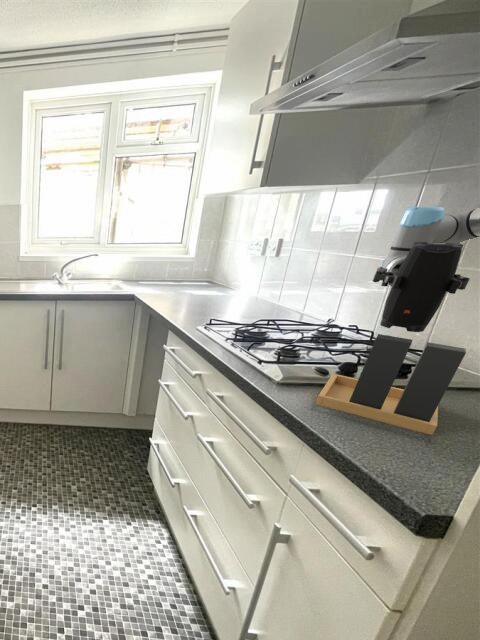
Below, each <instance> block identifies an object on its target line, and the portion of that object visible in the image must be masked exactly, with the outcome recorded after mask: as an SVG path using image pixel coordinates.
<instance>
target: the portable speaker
mask: <svg viewBox="0 0 480 640" xmlns="http://www.w3.org/2000/svg"><path fill="white" fill-rule="evenodd" d="M463 247H464V243H446V244H429V243H427V242H414V244H413V246H412V248H411V250H410V252H409V253H408V255H407V257H406V258H405V260H404V262H403V263H402V265H401V267H400V268H399V271H398V273H397V274H399V275H401V276H402V279H401V281H400V283H399V286H398V288H397V289H394V288H392V287H390V290H389V293H388V295H387V297H386V300H385V304H384V307H383V312H382V314H381V315H382V316H381V320H380V323H379V324H380V326H381V327H384V328H387V329H390V328H392V327H398V328H403V329H406V332H410V333H412V332H413V333H422V332H424V331H425V329H426V328H427V327H428V325H429V324H430V322H431V320H433V318H434V316H435V315H436V313H437V312H438V310H439V308H440V307H441V304H442V303H443V301H444V299H445V297H446V294H447V293H448V292H447V289H448V287H449V285H450V283H451V281H452V279H453V277H454V275H455V274H456V272H457V269H458V265H459V262H460V258H461V256H462V252H463Z"/></svg>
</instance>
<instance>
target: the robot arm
mask: <svg viewBox="0 0 480 640" xmlns="http://www.w3.org/2000/svg"><path fill="white" fill-rule="evenodd" d="M445 213H446V208H445V207H443V206H412V207H409V208H407V209H406V210H405V212H404V215H403V217H402V219H401V220H400V222H399V225H398V227H397V230H396V232H395V236H394V238H393V241H392V243H391V245H390V248H389V250H388V253H387V255H386V257H385V259H383V260H382V263H381V265H380V267H377V268H376V270H375V273H374V275H373V278H372V280H371V282H373V283H379V282H381V281H382V282H381V284H380V286H381V287H388V286H390V288H394V289H397V288H398V286H399V283H400V281H401V279H402V276H401V275H399V274H397V273H398V271H399V268H400V267H401V265H402V263H403V262H404V260H405V258H406V257H407V255H408V253H409V252H410V250H411V248H412V246H413V244H414V242H427V243H429V244H446V243H459V244H461V243H460V242H463V241H465V240H469V239H473V238H476V239H478V238H480V207H477V208H474V209H470V210H466V211H462V212H459V213H455V214H454V213H453V214H452V213H451V214H445ZM477 237H478V238H477ZM470 279H471V278H470V277H467V276H463V275H462V274H459V273H455V275H454V277H453V279H452V281H451V283H450V285H449V287H448V289H447V292H446V293H449V294H451V295H455V294H456V293H457V290H461V291H463V290H466V288H467V286H468V284H469V282H470Z"/></svg>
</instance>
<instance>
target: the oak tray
mask: <svg viewBox="0 0 480 640" xmlns="http://www.w3.org/2000/svg"><path fill="white" fill-rule="evenodd" d="M358 380H359V378H355V377H350V376H345V375H341V374H337V373H332V375H331V376H330V378H329V379H328V381H327V382H326V384H325V385H324V386H323V388H322V389H321V391H320V393H319V394H318V396H317V398H316V401H315V405H318V406H320V407H321V406H322V407H325V408H329V409H333V410H337V411H341V412H345V413H348V414H351V415H355V416H360V417H363V418H367V419H369V420H374V421H378V422H381V423H385V424H388V425H393V426H396V427H400V428H404V429H407V430H411V431H415V432H419V433H422V434H426V435H430V436H433V435H434V433H435V431H436V429H437V427H438V421H439V419H438V418H439V417H438V416H439V406H438V407H437V409H436V410H435V412H434V414H433V416H432V418H431V420H430V422H426V421H422V420H419V419H415V418H411V417H407V416H403V415H399V414H395V413H393V412H394V410H395V408H396V406H397V404H398V402H399V399H400V397H401V395H402V393H403V391H404V389H405V388H399V387H394V386H392V387H391V389H390V391H389V393H388V395H387V397H386V399H385V401H384V404H383V406H382V408H381V410H379V409H375V408H372V407H368V406H364V405H360V404H356V403H352V402H349V401H350V398H351V396H352V394H353V391H354V389H355V387H356V384H357V382H358Z"/></svg>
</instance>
